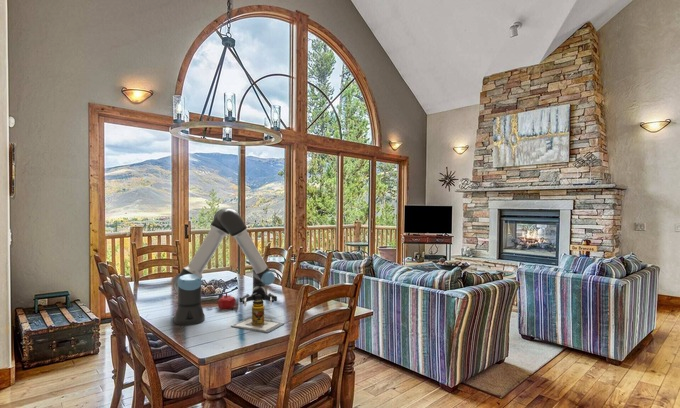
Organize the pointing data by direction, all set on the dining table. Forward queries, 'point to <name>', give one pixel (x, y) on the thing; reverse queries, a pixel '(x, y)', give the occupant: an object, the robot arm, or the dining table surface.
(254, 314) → the condiment
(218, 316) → the dining table surface
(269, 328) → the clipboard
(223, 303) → the pomegranate
